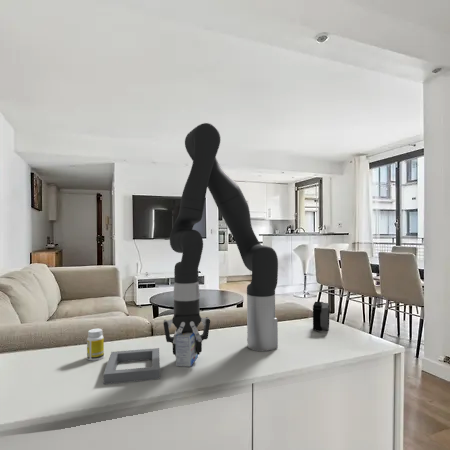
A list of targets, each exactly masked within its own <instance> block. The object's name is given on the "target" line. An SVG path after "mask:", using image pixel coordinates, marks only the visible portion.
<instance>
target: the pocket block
mask: <svg viewBox="0 0 450 450" xmlns="http://www.w3.org/2000/svg"><path fill="white" fill-rule="evenodd" d="M146 360H147V361H148V360H151V362H152V363H151V366H148V367H147V366H146V367H138V368H137V367H135V368H125V369H117V367H118V363H124V362H134V361H135V362H136V361H146ZM160 360H161V359H160V348H159V347H157V348H155V347H154V348H145V349H143V348H142V349H133V350H131V349H130V350H128V349H127V350H116V351H111V352H110V354H109V357H108V361H107V363H106V365H105V368H104V369H105V370H104V372H103V375H102V376H103V381H102V383H103V385H108V384H110V385H111V384H119V383H120V384H121V383H122V384H123V383H131V382H140V381H151V380H160V378H161V369H160V368H161V365H160V364H161V363H160V362H161V361H160Z"/></svg>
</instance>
